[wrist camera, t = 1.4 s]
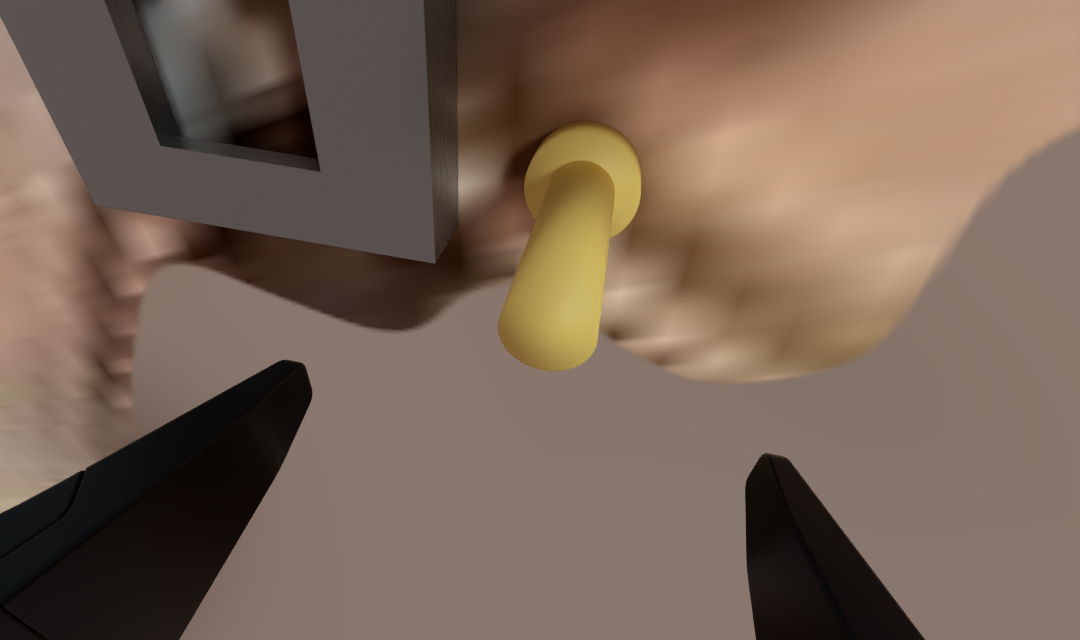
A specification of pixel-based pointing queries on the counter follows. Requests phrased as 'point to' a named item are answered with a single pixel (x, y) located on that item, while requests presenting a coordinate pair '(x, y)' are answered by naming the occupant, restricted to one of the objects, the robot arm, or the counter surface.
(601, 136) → the headed peg
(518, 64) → the counter surface
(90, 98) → the keyhole plate
